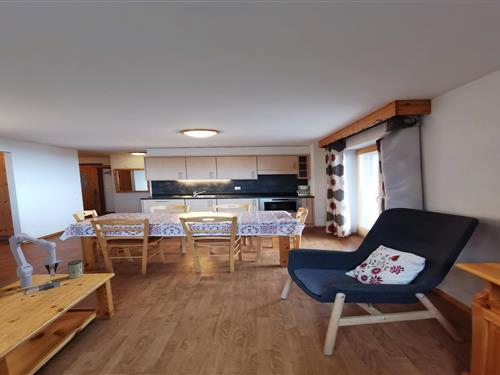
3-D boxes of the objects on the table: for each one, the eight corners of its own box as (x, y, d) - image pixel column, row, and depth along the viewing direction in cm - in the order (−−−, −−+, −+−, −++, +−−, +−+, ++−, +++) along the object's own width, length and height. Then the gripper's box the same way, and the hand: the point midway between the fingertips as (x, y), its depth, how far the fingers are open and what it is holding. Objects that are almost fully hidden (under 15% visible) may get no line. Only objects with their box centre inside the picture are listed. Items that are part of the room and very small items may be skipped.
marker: (50, 275, 202) (49, 266, 201) (55, 274, 204) (54, 265, 203) (50, 276, 199) (49, 267, 199) (55, 275, 201) (54, 266, 201)
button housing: (44, 287, 195) (44, 284, 195) (54, 285, 198) (53, 282, 198) (44, 290, 190) (43, 287, 190) (53, 288, 194) (53, 285, 194)
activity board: (25, 289, 194) (25, 288, 194) (60, 281, 208) (60, 280, 208) (23, 296, 183) (23, 295, 183) (60, 287, 196) (60, 286, 196)
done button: (46, 283, 194) (45, 281, 194) (51, 282, 197) (51, 280, 197) (45, 285, 192) (45, 283, 191) (51, 283, 194) (51, 281, 194)
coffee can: (66, 278, 214) (65, 262, 214) (80, 274, 223) (79, 259, 222) (71, 280, 208) (70, 264, 208) (84, 276, 217) (83, 261, 216)
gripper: (39, 260, 193) (40, 276, 194) (62, 256, 202) (63, 272, 203) (39, 258, 199) (41, 274, 199) (62, 254, 208) (63, 269, 208)
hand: (52, 273), depth 201 cm, fingers closed on marker, 3 cm apart
